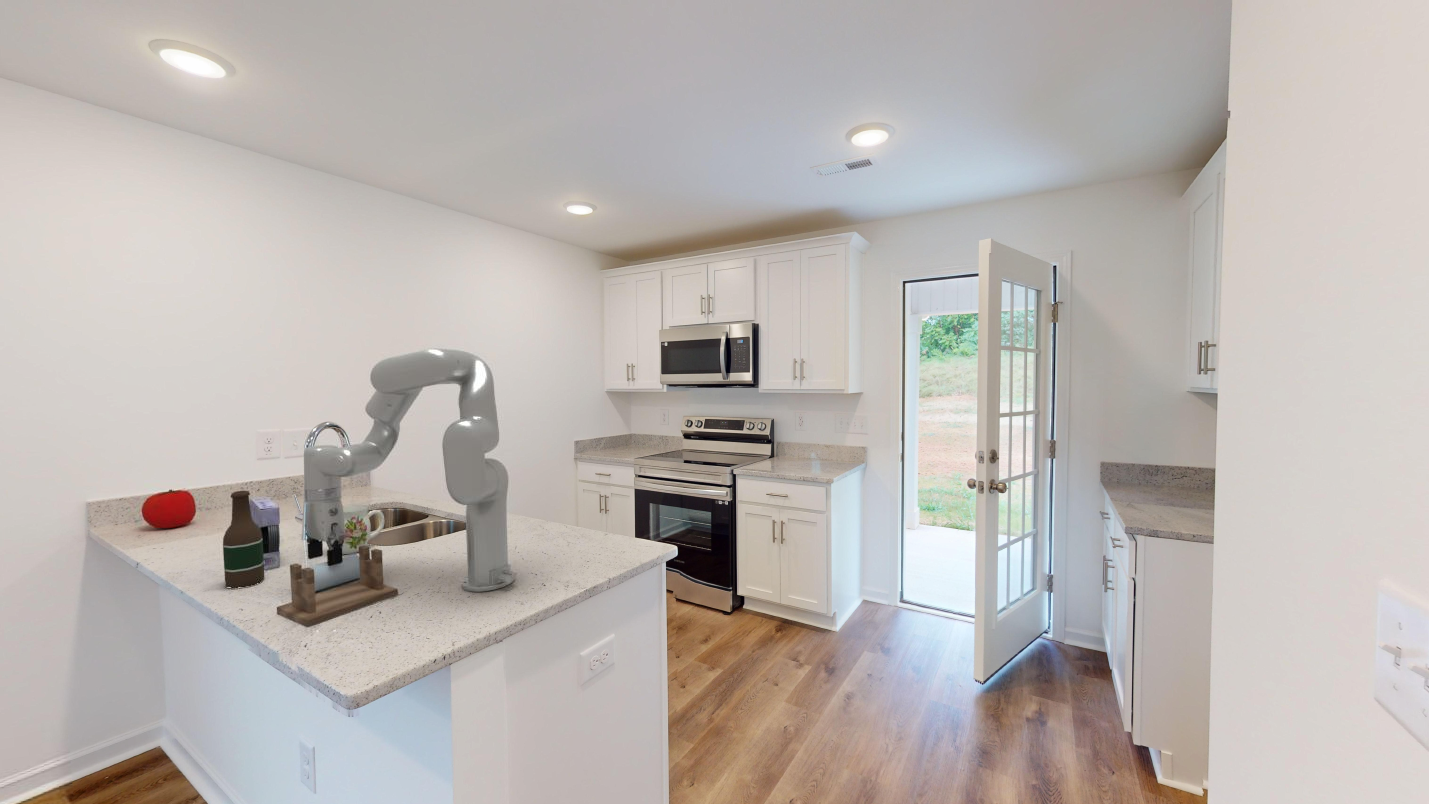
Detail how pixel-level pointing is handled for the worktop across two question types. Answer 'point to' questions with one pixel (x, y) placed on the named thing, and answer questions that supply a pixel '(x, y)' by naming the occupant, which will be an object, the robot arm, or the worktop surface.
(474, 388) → the robot arm
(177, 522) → the tomato
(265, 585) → the worktop surface
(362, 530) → the pitcher
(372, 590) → the roll holder
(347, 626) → the worktop surface
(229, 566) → the beer bottle
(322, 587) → the kitchen roll
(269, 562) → the cake pan box
